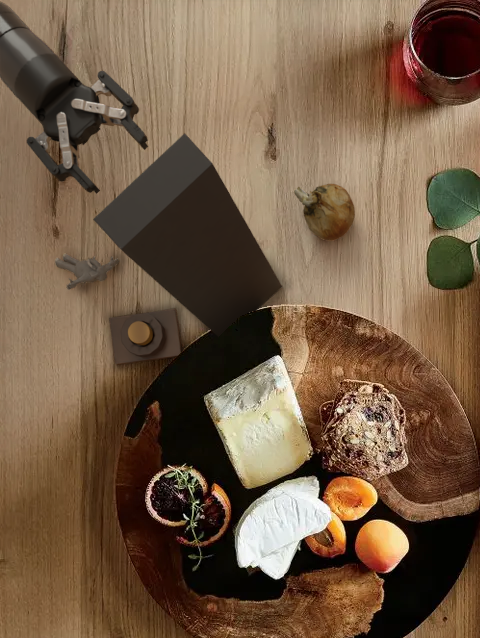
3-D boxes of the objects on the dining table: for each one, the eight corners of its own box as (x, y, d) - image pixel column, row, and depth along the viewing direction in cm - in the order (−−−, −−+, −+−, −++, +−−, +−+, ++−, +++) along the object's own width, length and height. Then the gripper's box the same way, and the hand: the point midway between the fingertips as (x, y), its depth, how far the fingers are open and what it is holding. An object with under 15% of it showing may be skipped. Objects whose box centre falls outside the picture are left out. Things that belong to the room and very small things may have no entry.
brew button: (132, 346, 121) (129, 344, 119) (130, 325, 121) (126, 322, 119) (154, 343, 120) (151, 341, 119) (151, 322, 120) (148, 319, 119)
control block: (117, 365, 123) (111, 362, 120) (110, 318, 123) (104, 315, 120) (182, 356, 123) (178, 353, 120) (176, 309, 123) (172, 305, 120)
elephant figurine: (83, 229, 123) (126, 246, 120) (91, 266, 127) (134, 283, 124) (29, 255, 117) (73, 273, 113) (40, 293, 121) (83, 311, 118)
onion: (314, 254, 122) (308, 236, 114) (297, 202, 122) (290, 181, 114) (363, 237, 122) (360, 218, 114) (346, 186, 122) (342, 164, 114)
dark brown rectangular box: (151, 262, 123) (8, 127, 79) (210, 207, 122) (99, 40, 78) (223, 341, 122) (120, 249, 78) (282, 286, 122) (212, 163, 78)
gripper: (-18, 99, 103) (69, 194, 103) (65, 22, 103) (152, 116, 103) (11, 127, 111) (91, 215, 111) (88, 55, 111) (169, 143, 110)
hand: (120, 167), depth 107 cm, fingers open, 8 cm apart
